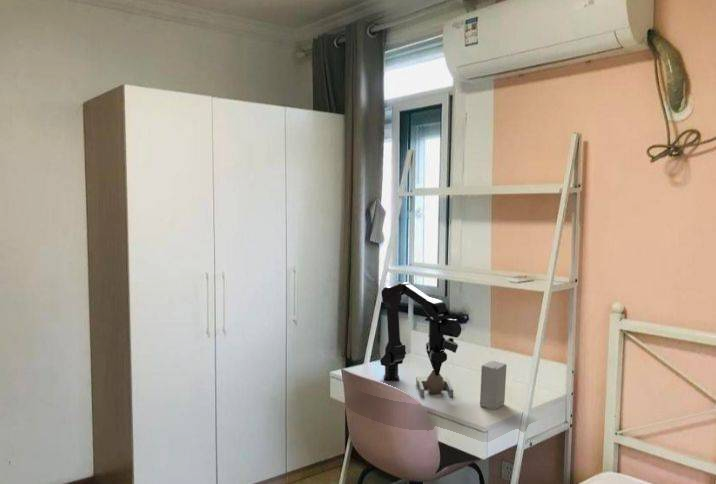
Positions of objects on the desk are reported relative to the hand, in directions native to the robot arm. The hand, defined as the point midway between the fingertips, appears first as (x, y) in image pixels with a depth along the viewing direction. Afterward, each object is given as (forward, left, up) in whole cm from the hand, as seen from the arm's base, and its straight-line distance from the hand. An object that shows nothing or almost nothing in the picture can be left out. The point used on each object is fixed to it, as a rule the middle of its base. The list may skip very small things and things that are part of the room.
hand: (435, 372), depth 226 cm
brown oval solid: (0, 0, -8) cm, 8 cm away
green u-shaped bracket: (-2, 0, -8) cm, 8 cm away
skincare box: (+15, +19, -8) cm, 26 cm away
